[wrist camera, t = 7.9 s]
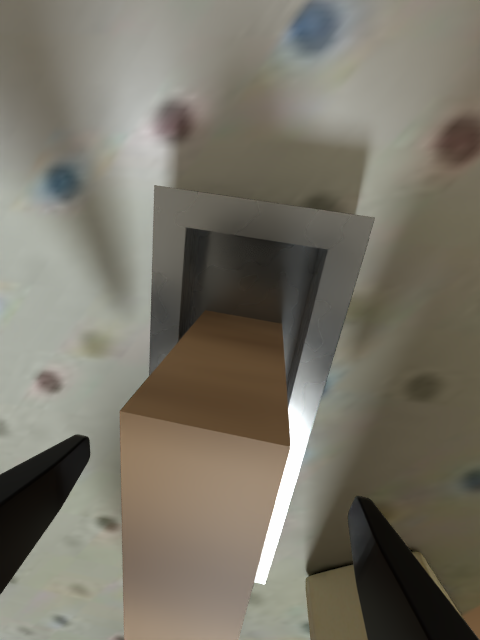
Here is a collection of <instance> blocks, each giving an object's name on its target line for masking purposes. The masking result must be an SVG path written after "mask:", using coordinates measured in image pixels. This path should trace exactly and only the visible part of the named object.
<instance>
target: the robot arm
mask: <svg viewBox="0 0 480 640" xmlns="http://www.w3.org/2000/svg"><path fill="white" fill-rule="evenodd" d="M89 458H90V442H89V438H88V437H87V436H83V435H74V436H72V437H70V438H68V439H66V440H64V441H63V442H61V443H59V444H57V445H55V446H53V447H51V448H49V449H47V450H46V451H44V452H42V453H40V454H38V455H36V456H34V457H32V458H30V459H29V460H27V461H25V462H23V463H21V464H19V465H17V466H15V467H13V468H12V469H10V470H8V471H6V472H4V473H2V474H0V594H1V593H2V592H3V590H4V589H5V587H6V586H7V584H8V583H9V582H10V580H11V579H12V577H13V576H14V574H15V573H16V572H17V570H18V569H19V567H20V566H21V565H22V563H23V562H24V560H25V559H26V557H27V556H28V555H29V553H30V552H31V550H32V549H33V547H34V546H35V545H36V543H37V542H38V540H39V539H40V538H41V536H42V535H43V533H44V532H45V530H46V529H47V528H48V526H49V525H50V523H51V522H52V520H53V519H54V518H55V516H56V515H57V513H58V512H59V510H60V509H61V507H62V505H63V504H64V502H65V500H66V499H67V497H68V495H69V494H70V492H71V490H72V489H73V487H74V485H75V483H76V482H77V480H78V478H79V477H80V475H81V473H82V471H83V470H84V468H85V466H86V465H87V463H88V461H89ZM348 525H349V533H350V541H351V549H352V558H353V566H354V573H355V580H356V586H357V591H358V596H359V601H360V605H361V610H362V615H363V620H364V624H365V629H366V634H367V638H368V640H479V639H478V638H477V636H476V635H475V634H474V632H473V631H472V630H471V628H470V627H469V626H468V625H467V623H466V622H465V621H464V619H463V618H462V617H461V615H460V614H459V613H458V611H457V610H456V609H455V608H454V606H453V605H452V604H451V602H450V601H449V600H448V599H447V597H446V596H445V595H444V593H443V592H442V591H441V590H440V588H439V587H438V586H437V584H436V583H435V582H434V580H433V579H432V578H431V577H430V575H429V574H428V573H427V571H426V570H425V569H424V568H423V566H422V565H421V564H420V562H419V561H418V560H417V559H416V557H415V556H414V555H413V553H412V552H411V551H410V549H409V548H408V547H407V546H406V544H405V543H404V542H403V540H402V539H401V538H400V537H399V535H398V534H397V533H396V531H395V530H394V529H393V528H392V526H391V525H390V524H389V522H388V521H387V520H386V518H385V517H384V516H383V515H382V513H381V512H380V511H379V509H378V508H377V507H376V506H375V504H374V503H373V502H372V501H371V500H370V499H369V498H366V497H361V496H356V497H355V499H354V501H353V503H352V506H351V508H350V510H349V513H348Z"/></svg>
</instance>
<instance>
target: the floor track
mask: <svg viewBox="0 0 480 640" xmlns="http://www.w3.org/2000/svg"><path fill="white" fill-rule="evenodd" d="M374 219H375V218H374V217H367V216H360V215H353V214H346V213H340V212H333V211H326V210H319V209H312V208H306V207H299V206H292V205H285V204H278V203H272V202H265V201H258V200H251V199H244V198H237V197H231V196H224V195H217V194H210V193H203V192H197V191H190V190H183V189H176V188H169V187H163V186H156V185H154V221H153V257H152V293H151V329H150V365H149V376H150V375H151V374H152V372H153V371H154V370H155V369H156V368H157V366H158V365H159V364H160V363H161V362H162V361H163V359H164V358H165V357H166V356H167V355H168V353H169V352H170V351H171V350H172V349H173V348H174V346H175V345H176V344H177V343H178V342H179V340H180V339H181V338H182V337H183V336H184V335H185V333H186V332H187V331H188V330H189V329H190V327H191V326H192V325H193V324H194V323H195V322H196V320H197V319H198V318H199V317H200V316H201V314H202V313H203V312H204V311H205V310H207V311H213V312H218V313H224V314H229V315H235V316H241V317H246V318H252V319H258V320H263V321H269V322H275V323H280V324H282V330H283V344H284V358H285V372H286V386H287V400H288V414H289V428H290V442H291V448H290V452H289V456H288V459H287V463H286V467H285V470H284V474H283V478H282V481H281V485H280V489H279V492H278V496H277V500H276V503H275V507H274V511H273V514H272V518H271V522H270V525H269V529H268V533H267V536H266V540H265V544H264V547H263V551H262V555H261V558H260V562H259V566H258V569H257V573H256V577H255V580H254V582H256V583H260V584H264V585H265V583H266V579H267V576H268V573H269V569H270V566H271V563H272V559H273V556H274V553H275V549H276V546H277V544H278V540H279V537H280V534H281V530H282V527H283V524H284V520H285V517H286V514H287V510H288V507H289V504H290V500H291V497H292V494H293V490H294V487H295V484H296V480H297V477H298V474H299V470H300V467H301V464H302V460H303V457H304V454H305V450H306V447H307V444H308V440H309V437H310V434H311V430H312V427H313V424H314V420H315V417H316V414H317V410H318V407H319V404H320V400H321V397H322V394H323V391H324V387H325V384H326V381H327V377H328V374H329V371H330V367H331V364H332V361H333V357H334V354H335V351H336V347H337V344H338V341H339V337H340V334H341V331H342V327H343V324H344V321H345V317H346V314H347V311H348V307H349V304H350V301H351V297H352V294H353V291H354V287H355V284H356V281H357V277H358V274H359V271H360V267H361V264H362V261H363V257H364V254H365V251H366V247H367V244H368V241H369V236H370V233H371V229H372V226H373V223H374Z"/></svg>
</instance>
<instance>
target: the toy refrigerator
mask: <svg viewBox="0 0 480 640" xmlns="http://www.w3.org/2000/svg"><path fill="white" fill-rule="evenodd" d="M412 553H413V555H414V556H415V557H416V559H417V560H418V561H419V562H420V564H421V565H422V566H423V568H424V569H425V570H426V571H427V573H428V574H429V575H430V577H431V578H432V579H433V580H434V582H435V583H436V584H437V586H438V587H439V588H440V590H441V591H442V592H443V593H444V595H445V596H446V597H447V599H448V600H449V601H450V602H451V604H452V605H453V606H454V608H455V609H456V610H457V608H456V606H455V605H454V603H453V602H452V600H451V599H450V597H449V596H448V594H447V592H446V591H445V589H444V588H443V586H442V585H441V583H440V582H439V580H438V579H437V577H436V575H435V574H434V572H433V571H432V569H431V568H430V566H429V565H428V563H427V561H426V560H425V558H424V557H423V555H422V554H421V553H420V552H412ZM306 597H307V608H308V618H309V629H310V639H311V640H368V638H367V634H366V629H365V624H364V620H363V615H362V610H361V605H360V601H359V596H358V591H357V586H356V580H355V573H354V566H353V565H350V566H346V567H341V568H337V569H333V570H329V571H326V572H322V573H318V574H315V575H311V576H309V577H307V578H306ZM457 611H458V610H457ZM458 613H459V611H458ZM459 614H460V613H459ZM460 615H461V614H460ZM461 617H462V616H461ZM462 618H463V617H462Z"/></svg>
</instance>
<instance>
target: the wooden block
mask: <svg viewBox="0 0 480 640" xmlns="http://www.w3.org/2000/svg"><path fill="white" fill-rule="evenodd" d="M290 448H291V442H290V428H289V414H288V400H287V386H286V372H285V358H284V344H283V330H282V324H280V323H275V322H269V321H263V320H258V319H252V318H246V317H241V316H235V315H229V314H224V313H218V312H213V311H207V310H205V311H204V312H203V313H202V314H201V316H200V317H199V318H198V319H197V320H196V322H195V323H194V324H193V325H192V326H191V327H190V329H189V330H188V331H187V332H186V333H185V335H184V336H183V337H182V338H181V339H180V340H179V342H178V343H177V344H176V345H175V346H174V348H173V349H172V350H171V351H170V352H169V353H168V355H167V356H166V357H165V358H164V359H163V361H162V362H161V363H160V364H159V365H158V366H157V368H156V369H155V370H154V371H153V372H152V374H151V375H150V376H149V377H148V378H147V379H146V381H145V382H144V383H143V384H142V385H141V387H140V388H139V389H138V390H137V391H136V392H135V394H134V395H133V396H132V397H131V398H130V400H129V401H128V402H127V403H126V404H125V405H124V407H123V408H122V409H121V410H120V451H121V502H122V553H123V604H124V640H238V639H239V636H240V632H241V628H242V625H243V621H244V617H245V614H246V610H247V606H248V603H249V599H250V595H251V591H252V588H253V584H254V580H255V577H256V573H257V569H258V566H259V562H260V558H261V555H262V551H263V547H264V544H265V540H266V536H267V533H268V529H269V525H270V522H271V518H272V514H273V511H274V507H275V503H276V500H277V496H278V492H279V489H280V485H281V481H282V478H283V474H284V470H285V467H286V463H287V459H288V456H289V452H290Z"/></svg>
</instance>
